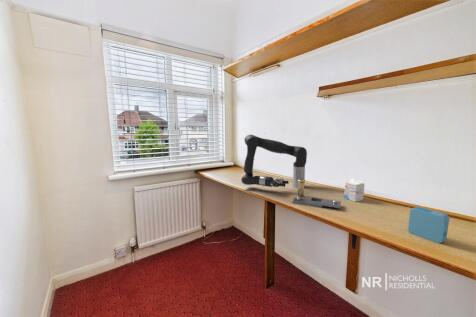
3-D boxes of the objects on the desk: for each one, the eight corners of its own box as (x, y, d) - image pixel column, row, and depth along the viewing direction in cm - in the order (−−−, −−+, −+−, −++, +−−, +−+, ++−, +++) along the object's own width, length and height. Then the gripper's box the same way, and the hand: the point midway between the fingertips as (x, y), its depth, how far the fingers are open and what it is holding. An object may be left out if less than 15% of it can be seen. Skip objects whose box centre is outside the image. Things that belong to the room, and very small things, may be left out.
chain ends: (292, 202, 134) (292, 196, 134) (295, 198, 142) (295, 193, 141) (340, 210, 121) (340, 203, 120) (340, 205, 128) (341, 199, 128)
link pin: (298, 194, 151) (298, 178, 149) (305, 195, 148) (305, 179, 147) (296, 196, 146) (296, 180, 145) (303, 197, 144) (304, 181, 142)
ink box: (343, 198, 142) (344, 179, 141) (351, 196, 146) (353, 177, 144) (355, 202, 135) (356, 182, 133) (363, 200, 138) (365, 180, 136)
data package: (446, 241, 87) (450, 214, 86) (442, 244, 85) (446, 217, 83) (411, 229, 98) (414, 205, 96) (407, 232, 96) (410, 207, 94)
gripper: (262, 178, 152) (284, 181, 145) (269, 174, 165) (289, 176, 157) (262, 188, 153) (284, 191, 146) (269, 183, 166) (289, 186, 158)
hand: (286, 183), depth 151 cm, fingers open, 8 cm apart
